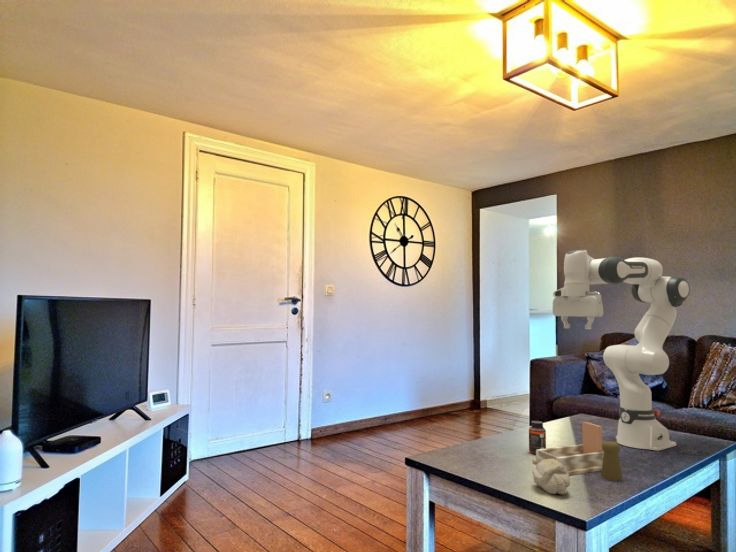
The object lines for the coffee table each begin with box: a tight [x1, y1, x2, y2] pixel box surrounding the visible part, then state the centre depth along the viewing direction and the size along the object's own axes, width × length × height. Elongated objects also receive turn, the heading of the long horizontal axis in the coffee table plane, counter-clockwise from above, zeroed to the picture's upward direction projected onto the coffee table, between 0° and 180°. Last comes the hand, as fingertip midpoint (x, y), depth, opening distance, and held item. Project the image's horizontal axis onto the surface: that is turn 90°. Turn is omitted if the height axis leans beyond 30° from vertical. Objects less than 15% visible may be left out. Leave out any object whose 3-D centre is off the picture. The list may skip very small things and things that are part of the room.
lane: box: [532, 443, 604, 476], centre depth 163 cm, size 24×14×5 cm, turn 112°
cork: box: [600, 440, 623, 482], centre depth 151 cm, size 6×6×11 cm
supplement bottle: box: [528, 420, 547, 455], centre depth 177 cm, size 6×6×11 cm
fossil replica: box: [532, 459, 571, 495], centre depth 140 cm, size 12×8×10 cm
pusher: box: [581, 421, 604, 454], centre depth 166 cm, size 2×7×12 cm, turn 22°
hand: (577, 328), depth 180 cm, fingers open, 8 cm apart
